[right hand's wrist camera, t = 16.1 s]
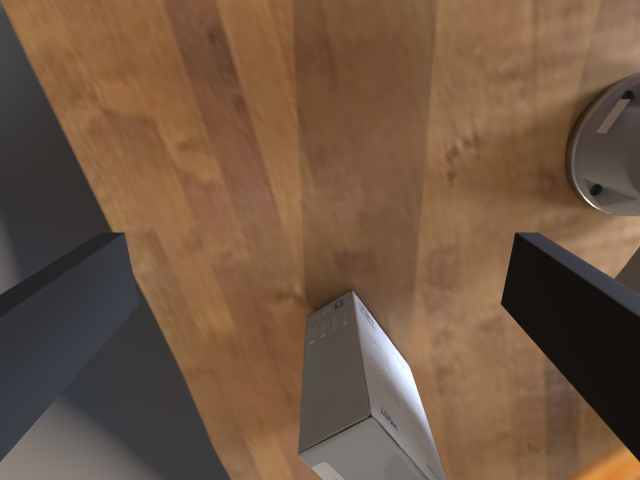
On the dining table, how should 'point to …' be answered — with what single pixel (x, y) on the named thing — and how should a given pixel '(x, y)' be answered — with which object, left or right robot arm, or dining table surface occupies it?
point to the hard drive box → (361, 402)
